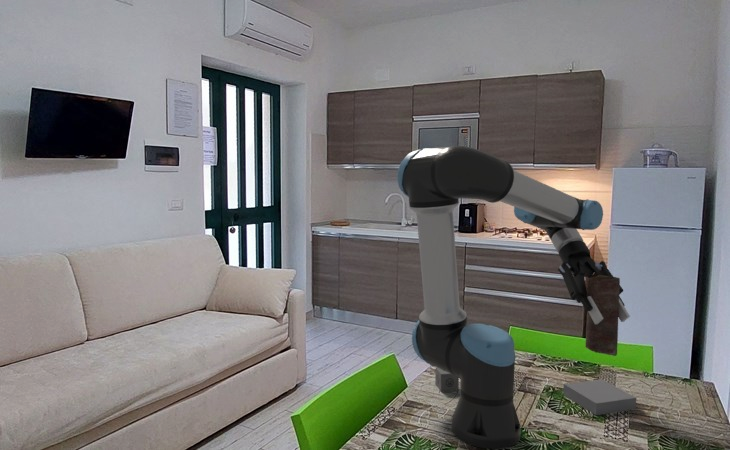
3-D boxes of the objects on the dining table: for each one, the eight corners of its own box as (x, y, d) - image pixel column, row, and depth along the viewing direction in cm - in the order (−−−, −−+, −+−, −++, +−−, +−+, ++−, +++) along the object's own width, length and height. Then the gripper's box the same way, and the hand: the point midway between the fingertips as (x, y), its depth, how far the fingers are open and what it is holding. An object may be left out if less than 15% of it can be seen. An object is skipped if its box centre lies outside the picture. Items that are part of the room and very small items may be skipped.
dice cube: (458, 390, 132) (458, 373, 132) (440, 392, 131) (441, 374, 131) (452, 383, 137) (452, 366, 136) (435, 384, 136) (435, 367, 136)
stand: (595, 415, 118) (596, 403, 118) (563, 394, 129) (563, 384, 129) (635, 409, 121) (636, 397, 121) (600, 389, 133) (601, 379, 132)
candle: (598, 359, 120) (602, 279, 118) (578, 349, 127) (581, 273, 125) (623, 356, 122) (628, 278, 120) (602, 347, 129) (606, 272, 127)
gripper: (593, 254, 140) (636, 324, 126) (533, 256, 134) (570, 330, 120) (608, 237, 134) (654, 309, 120) (545, 240, 129) (586, 315, 115)
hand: (612, 320), depth 120 cm, fingers closed on candle, 7 cm apart
